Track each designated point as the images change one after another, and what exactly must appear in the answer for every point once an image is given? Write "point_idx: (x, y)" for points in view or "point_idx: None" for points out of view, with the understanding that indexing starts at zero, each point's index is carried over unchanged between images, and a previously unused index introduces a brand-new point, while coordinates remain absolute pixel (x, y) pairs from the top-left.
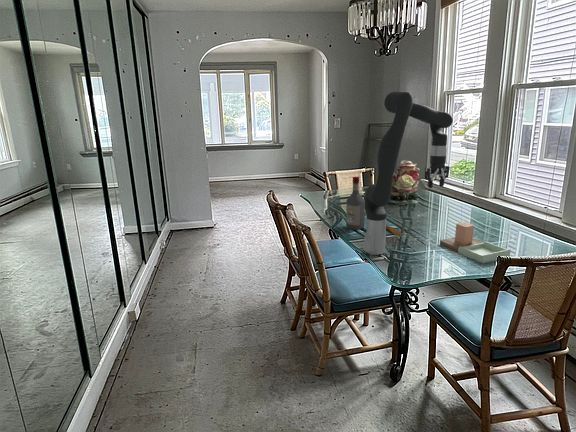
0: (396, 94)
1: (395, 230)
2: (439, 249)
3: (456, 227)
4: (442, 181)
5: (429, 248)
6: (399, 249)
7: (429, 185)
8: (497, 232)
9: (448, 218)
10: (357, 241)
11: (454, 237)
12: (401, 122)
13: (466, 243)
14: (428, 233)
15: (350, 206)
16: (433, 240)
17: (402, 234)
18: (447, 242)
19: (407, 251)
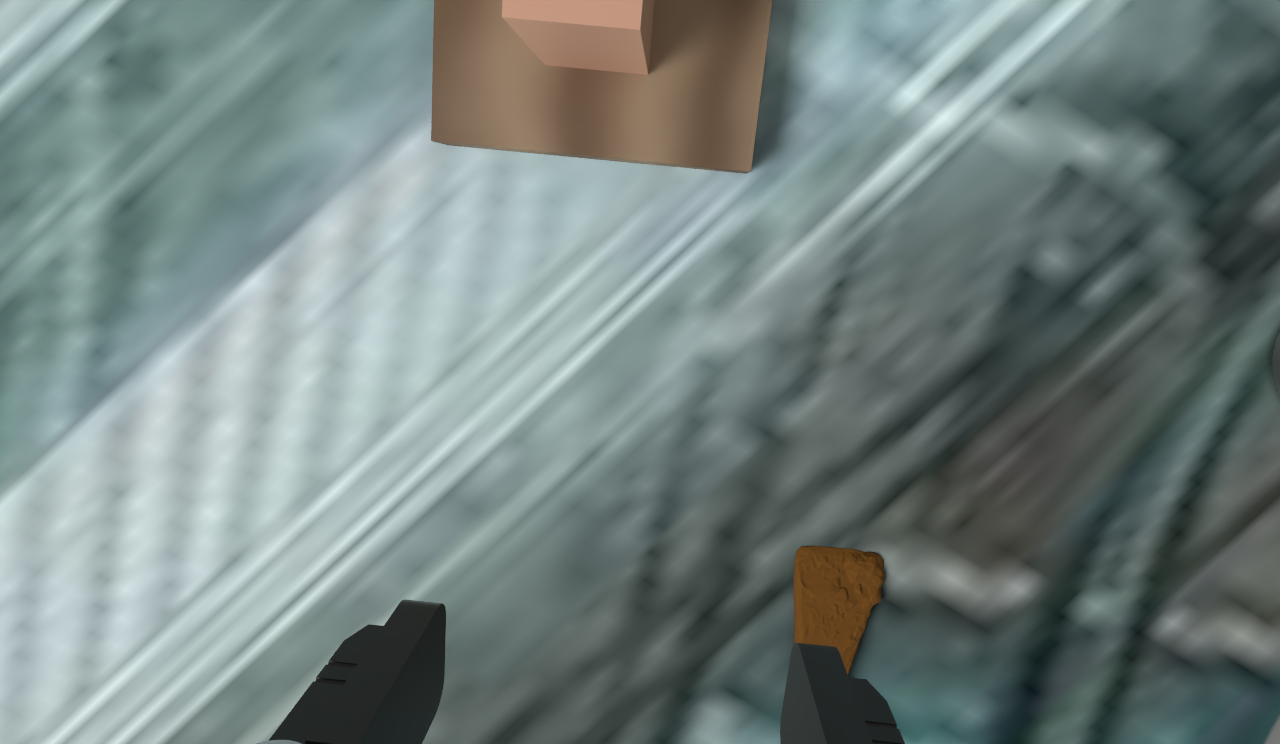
0: None
1: (815, 636)
2: (845, 84)
3: (643, 32)
4: (383, 708)
5: (899, 154)
6: (1140, 280)
7: (890, 726)
8: (3, 130)
9: (122, 649)
10: (1267, 619)
11: (567, 153)
12: None
13: None
14: (591, 452)
15: None
16: (700, 292)
17: (812, 549)
18: (745, 80)
19: (1125, 203)
